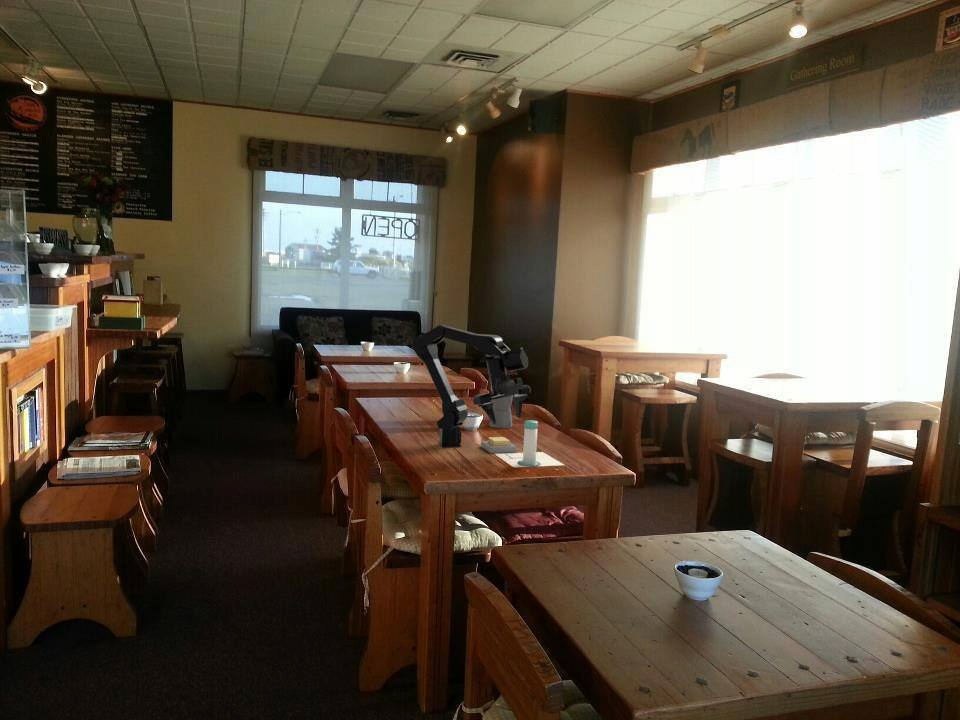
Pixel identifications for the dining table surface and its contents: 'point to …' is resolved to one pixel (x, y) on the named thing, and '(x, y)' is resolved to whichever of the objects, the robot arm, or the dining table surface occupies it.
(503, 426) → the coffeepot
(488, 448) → the button housing
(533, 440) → the marker
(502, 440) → the button
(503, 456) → the drawing board
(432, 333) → the robot arm
